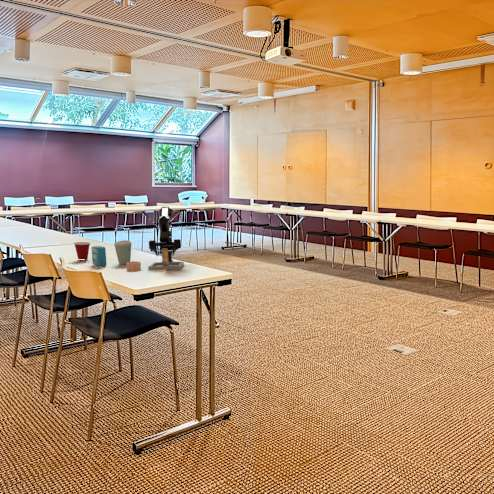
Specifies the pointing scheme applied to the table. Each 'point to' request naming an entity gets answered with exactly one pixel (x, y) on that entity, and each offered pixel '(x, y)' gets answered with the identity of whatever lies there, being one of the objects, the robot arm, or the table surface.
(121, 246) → the disposable coffee cup
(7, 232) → the table surface
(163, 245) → the robot arm
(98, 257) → the data package
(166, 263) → the dowel
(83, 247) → the plastic cup
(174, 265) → the tray
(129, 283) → the table surface
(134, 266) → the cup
